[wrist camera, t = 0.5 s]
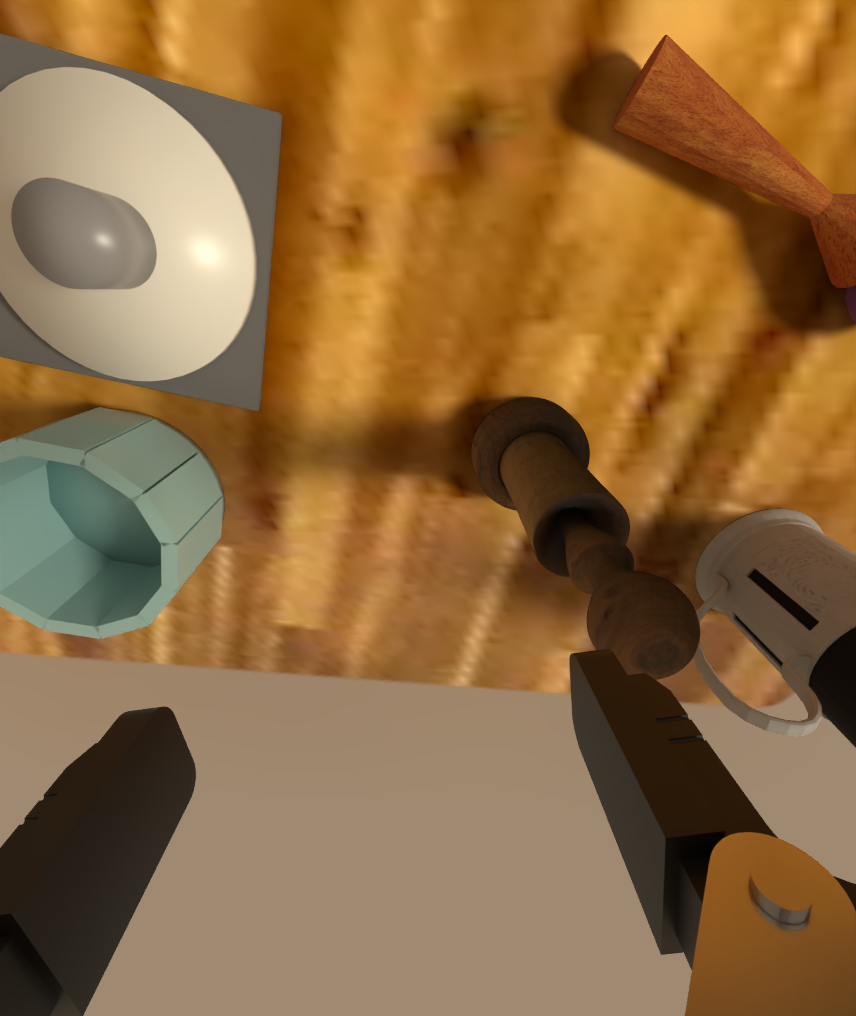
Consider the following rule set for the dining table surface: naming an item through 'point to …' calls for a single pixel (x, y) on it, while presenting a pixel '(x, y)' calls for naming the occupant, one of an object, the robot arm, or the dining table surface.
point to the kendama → (736, 152)
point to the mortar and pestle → (582, 534)
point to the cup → (103, 520)
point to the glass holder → (786, 613)
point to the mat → (254, 166)
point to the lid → (119, 227)
